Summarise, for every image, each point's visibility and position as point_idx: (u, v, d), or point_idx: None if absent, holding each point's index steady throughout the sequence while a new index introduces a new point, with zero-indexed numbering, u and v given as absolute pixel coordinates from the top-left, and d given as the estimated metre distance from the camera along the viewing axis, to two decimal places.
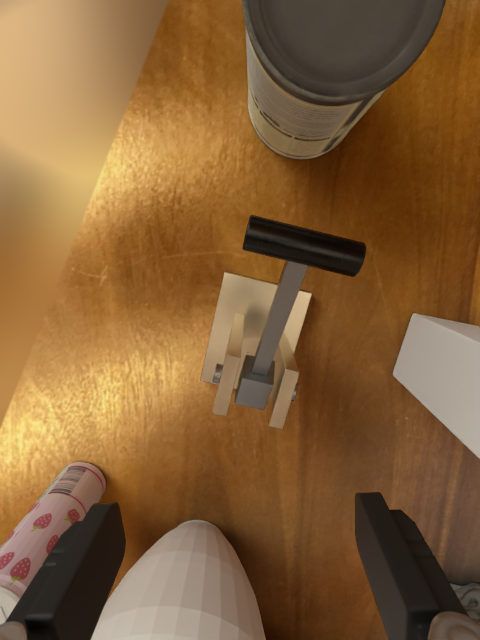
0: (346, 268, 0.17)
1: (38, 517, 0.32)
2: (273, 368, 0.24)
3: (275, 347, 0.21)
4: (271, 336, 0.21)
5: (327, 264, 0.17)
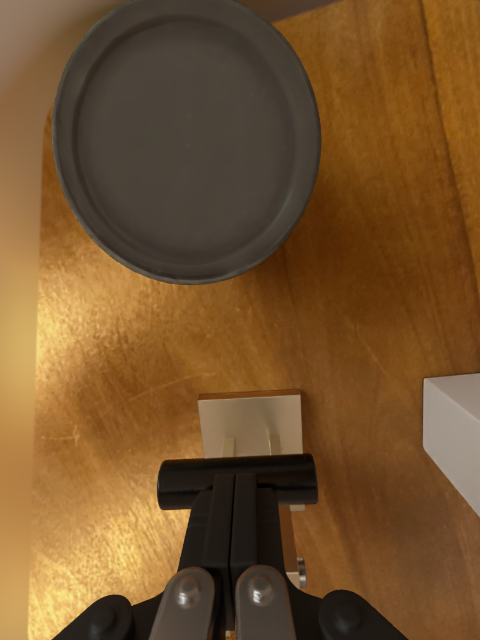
0: (300, 504, 0.12)
1: None
2: None
3: None
4: None
5: None
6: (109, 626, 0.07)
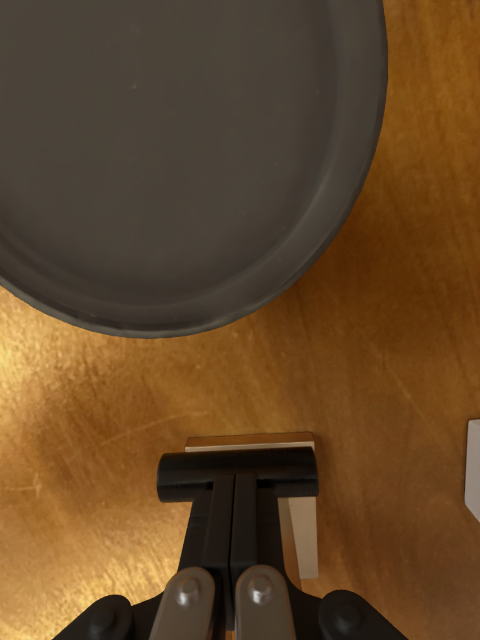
0: (300, 489, 0.12)
1: None
2: None
3: None
4: None
5: (273, 491, 0.12)
6: (109, 625, 0.07)
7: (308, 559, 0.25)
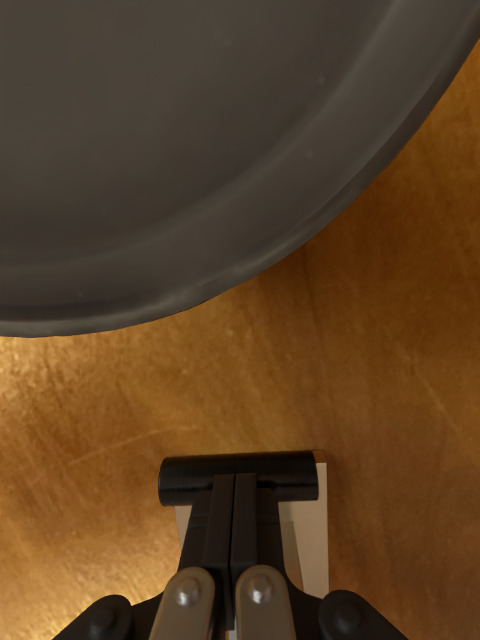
0: (300, 484, 0.12)
1: None
2: None
3: None
4: None
5: (273, 487, 0.12)
6: (108, 625, 0.07)
7: None
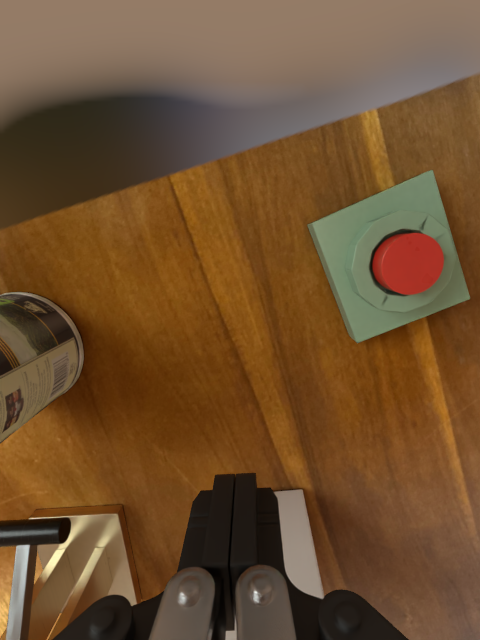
0: (49, 537, 0.25)
1: None
2: None
3: None
4: (12, 629, 0.24)
5: (37, 538, 0.25)
6: (109, 626, 0.07)
7: (128, 596, 0.34)
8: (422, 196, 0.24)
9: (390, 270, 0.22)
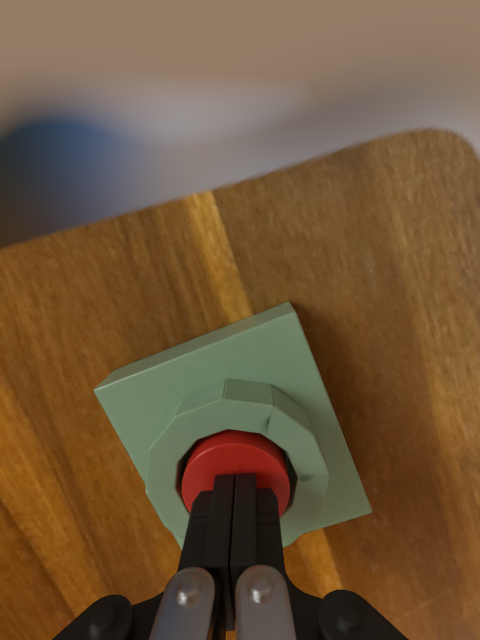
0: None
1: None
2: None
3: None
4: None
5: None
6: (109, 626, 0.07)
7: None
8: (281, 354, 0.13)
9: None
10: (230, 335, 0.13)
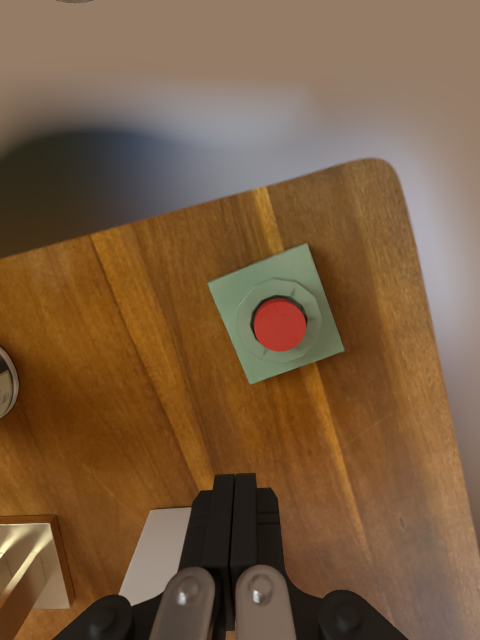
0: None
1: None
2: None
3: None
4: None
5: None
6: (109, 625, 0.07)
7: (61, 596, 0.38)
8: (300, 264, 0.28)
9: (262, 331, 0.26)
10: (275, 255, 0.28)
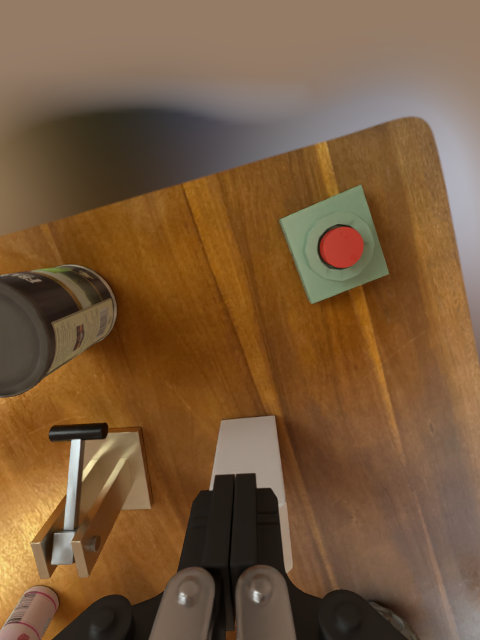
0: (95, 433, 0.37)
1: None
2: None
3: (74, 499, 0.35)
4: (70, 492, 0.35)
5: (86, 434, 0.37)
6: (109, 626, 0.07)
7: (144, 497, 0.46)
8: (355, 202, 0.35)
9: (329, 251, 0.33)
10: (335, 195, 0.35)
